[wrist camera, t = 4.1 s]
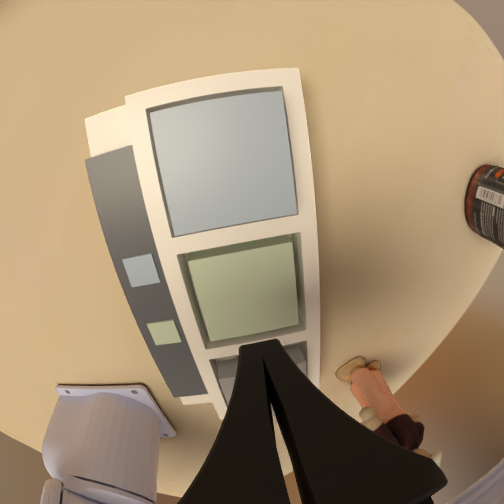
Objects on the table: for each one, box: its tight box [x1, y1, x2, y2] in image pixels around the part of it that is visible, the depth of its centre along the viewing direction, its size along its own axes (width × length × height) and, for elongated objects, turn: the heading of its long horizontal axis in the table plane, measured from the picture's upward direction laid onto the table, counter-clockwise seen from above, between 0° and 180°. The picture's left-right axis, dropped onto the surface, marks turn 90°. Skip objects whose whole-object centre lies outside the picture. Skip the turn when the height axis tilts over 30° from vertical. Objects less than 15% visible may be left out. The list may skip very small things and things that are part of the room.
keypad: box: [85, 68, 320, 420], centre depth 15 cm, size 10×20×3 cm, turn 8°
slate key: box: [150, 91, 297, 236], centre depth 10 cm, size 5×5×1 cm
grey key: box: [217, 345, 306, 416], centre depth 16 cm, size 5×5×1 cm
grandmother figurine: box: [336, 357, 442, 468], centre depth 16 cm, size 8×4×13 cm, turn 69°
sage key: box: [188, 234, 299, 341], centre depth 14 cm, size 5×5×1 cm
